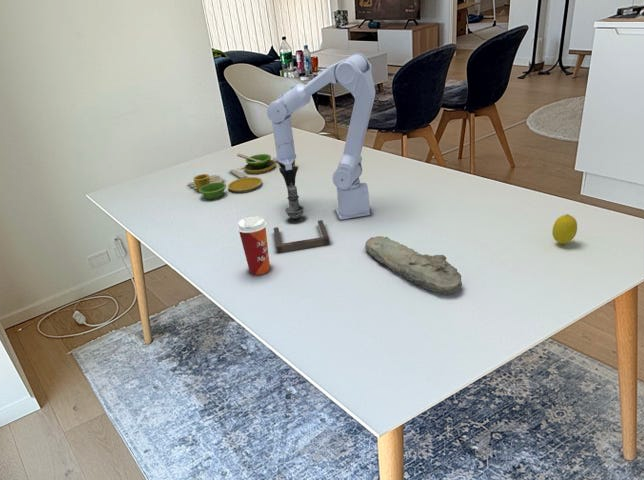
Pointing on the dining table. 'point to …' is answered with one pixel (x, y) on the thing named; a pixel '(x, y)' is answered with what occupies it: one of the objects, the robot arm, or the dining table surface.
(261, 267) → the paper cup
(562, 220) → the lemon
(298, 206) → the salt shaker
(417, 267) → the elongated rock
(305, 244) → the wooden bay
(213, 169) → the dining table surface
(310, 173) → the dining table surface
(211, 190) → the tableware set
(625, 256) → the dining table surface
